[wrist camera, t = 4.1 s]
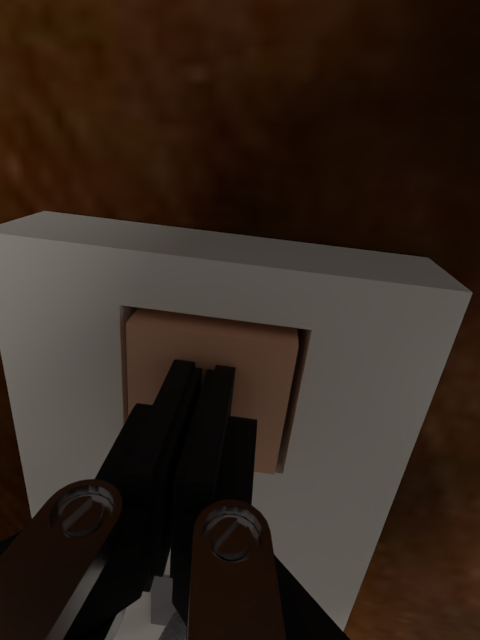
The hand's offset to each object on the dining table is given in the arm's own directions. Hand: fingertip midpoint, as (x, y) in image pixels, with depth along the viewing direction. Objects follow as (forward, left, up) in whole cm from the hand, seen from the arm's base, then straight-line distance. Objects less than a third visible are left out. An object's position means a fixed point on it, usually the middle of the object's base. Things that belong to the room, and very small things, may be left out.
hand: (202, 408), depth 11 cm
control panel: (+10, 0, -3) cm, 10 cm away
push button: (0, 0, -3) cm, 3 cm away
